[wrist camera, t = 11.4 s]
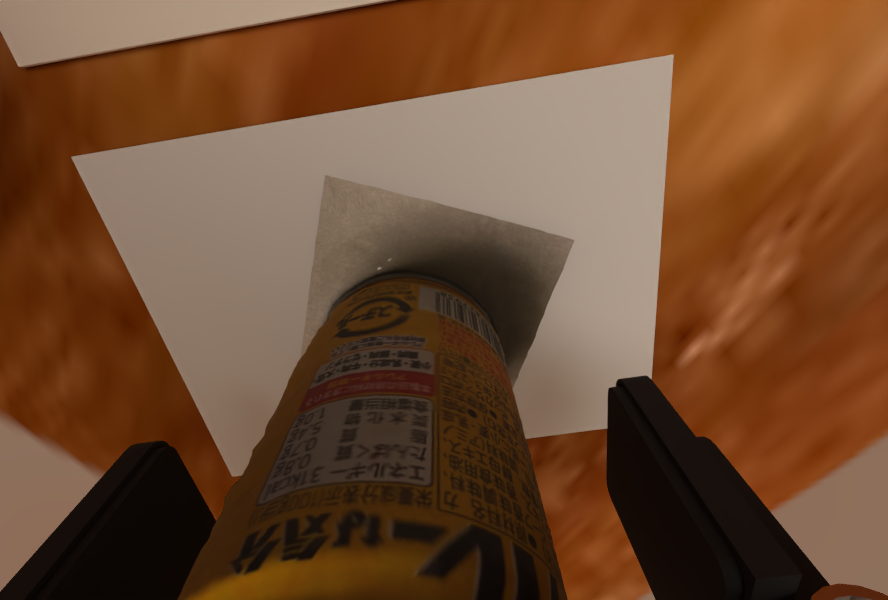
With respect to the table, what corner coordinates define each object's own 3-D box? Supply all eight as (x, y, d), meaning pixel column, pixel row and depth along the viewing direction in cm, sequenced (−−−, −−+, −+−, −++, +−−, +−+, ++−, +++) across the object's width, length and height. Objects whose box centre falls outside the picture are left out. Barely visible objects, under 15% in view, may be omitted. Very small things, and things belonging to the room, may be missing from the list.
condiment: (293, 409, 15) (-64, 1185, 4) (326, 173, 12) (-1020, 1065, 1) (488, 446, 16) (597, 1165, 5) (571, 236, 13) (1406, 1063, 2)
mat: (87, 154, 12) (70, 157, 11) (662, 56, 11) (673, 54, 11) (238, 464, 17) (232, 476, 16) (641, 412, 16) (648, 423, 16)
